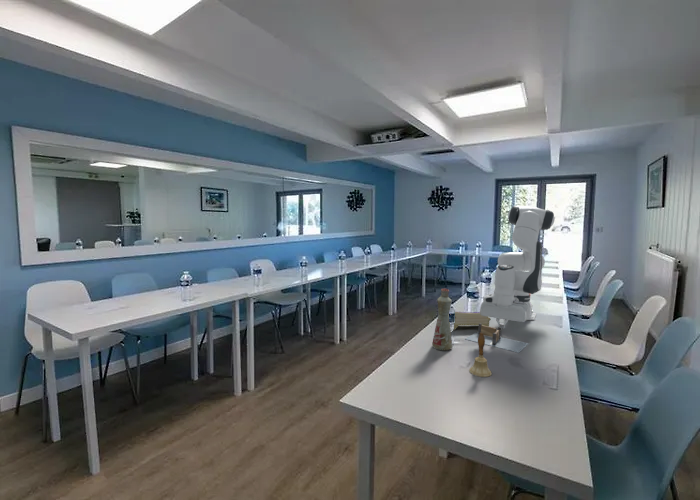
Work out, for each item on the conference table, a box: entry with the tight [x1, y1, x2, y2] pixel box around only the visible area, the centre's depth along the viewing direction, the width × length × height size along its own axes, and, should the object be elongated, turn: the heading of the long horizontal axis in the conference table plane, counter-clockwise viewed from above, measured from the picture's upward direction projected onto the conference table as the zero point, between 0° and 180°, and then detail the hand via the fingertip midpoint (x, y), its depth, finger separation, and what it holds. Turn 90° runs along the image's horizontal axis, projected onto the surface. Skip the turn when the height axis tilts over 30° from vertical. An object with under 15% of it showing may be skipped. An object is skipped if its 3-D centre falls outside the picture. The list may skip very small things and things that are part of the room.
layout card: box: [465, 331, 530, 354], centre depth 174 cm, size 15×25×1 cm, turn 48°
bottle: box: [431, 288, 453, 352], centre depth 164 cm, size 9×9×28 cm
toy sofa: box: [453, 311, 491, 331], centre depth 195 cm, size 21×9×10 cm, turn 95°
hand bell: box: [468, 332, 492, 378], centre depth 140 cm, size 8×8×16 cm
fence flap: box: [492, 329, 499, 345], centre depth 173 cm, size 9×2×5 cm, turn 146°
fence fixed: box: [477, 323, 502, 339], centre depth 181 cm, size 2×11×6 cm, turn 49°
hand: (501, 327), depth 171 cm, fingers closed
